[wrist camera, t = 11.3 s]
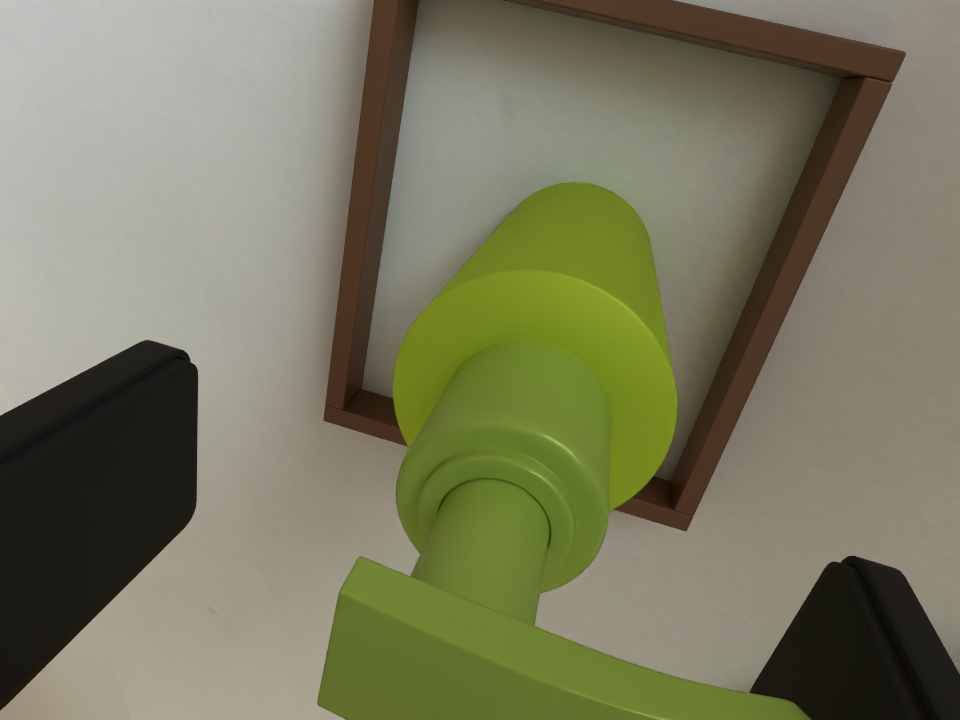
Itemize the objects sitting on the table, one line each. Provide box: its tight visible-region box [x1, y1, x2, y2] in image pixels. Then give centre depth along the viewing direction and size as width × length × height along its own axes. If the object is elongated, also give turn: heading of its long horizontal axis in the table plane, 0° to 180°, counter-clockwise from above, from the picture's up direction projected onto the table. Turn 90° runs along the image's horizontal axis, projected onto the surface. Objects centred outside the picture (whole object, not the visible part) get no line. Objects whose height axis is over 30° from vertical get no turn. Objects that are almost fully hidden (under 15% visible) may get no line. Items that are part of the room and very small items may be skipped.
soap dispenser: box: [317, 182, 812, 720], centre depth 16 cm, size 6×7×20 cm
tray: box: [324, 0, 906, 531], centre depth 24 cm, size 18×16×4 cm
